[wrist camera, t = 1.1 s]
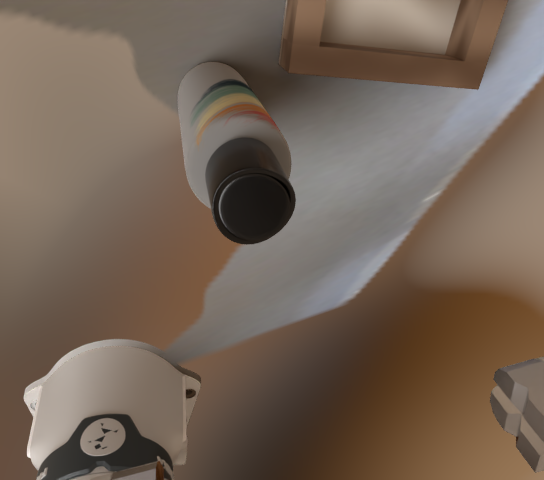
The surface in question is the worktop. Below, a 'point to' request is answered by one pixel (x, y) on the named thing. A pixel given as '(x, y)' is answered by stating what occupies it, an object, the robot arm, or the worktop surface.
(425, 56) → the brown square shallow frame
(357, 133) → the worktop surface
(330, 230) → the worktop surface
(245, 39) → the worktop surface
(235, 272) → the worktop surface
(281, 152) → the lotion bottle
